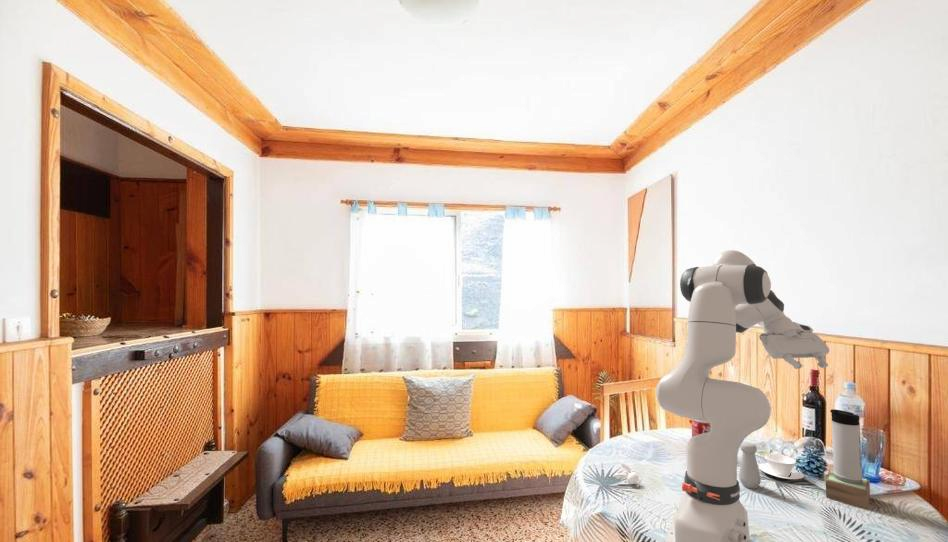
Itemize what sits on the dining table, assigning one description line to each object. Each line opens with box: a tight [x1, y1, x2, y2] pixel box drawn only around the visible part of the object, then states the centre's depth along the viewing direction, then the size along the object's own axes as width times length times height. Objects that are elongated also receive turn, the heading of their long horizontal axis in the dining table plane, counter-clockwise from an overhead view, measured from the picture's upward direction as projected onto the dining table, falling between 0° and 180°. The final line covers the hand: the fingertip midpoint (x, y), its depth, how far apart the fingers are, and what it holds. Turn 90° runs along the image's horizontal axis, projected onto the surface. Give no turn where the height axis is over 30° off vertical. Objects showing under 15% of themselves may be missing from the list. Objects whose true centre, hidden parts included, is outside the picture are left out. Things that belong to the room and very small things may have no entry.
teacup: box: [758, 453, 804, 480], centre depth 136 cm, size 12×12×5 cm
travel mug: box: [830, 408, 863, 484], centre depth 121 cm, size 6×7×20 cm
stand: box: [825, 470, 871, 510], centre depth 121 cm, size 9×9×5 cm
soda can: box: [691, 419, 711, 438], centre depth 155 cm, size 7×7×12 cm
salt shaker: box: [738, 441, 762, 490], centre depth 129 cm, size 6×6×13 cm
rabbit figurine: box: [613, 460, 642, 488], centre depth 131 cm, size 6×4×8 cm
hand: (812, 367), depth 130 cm, fingers open, 8 cm apart
